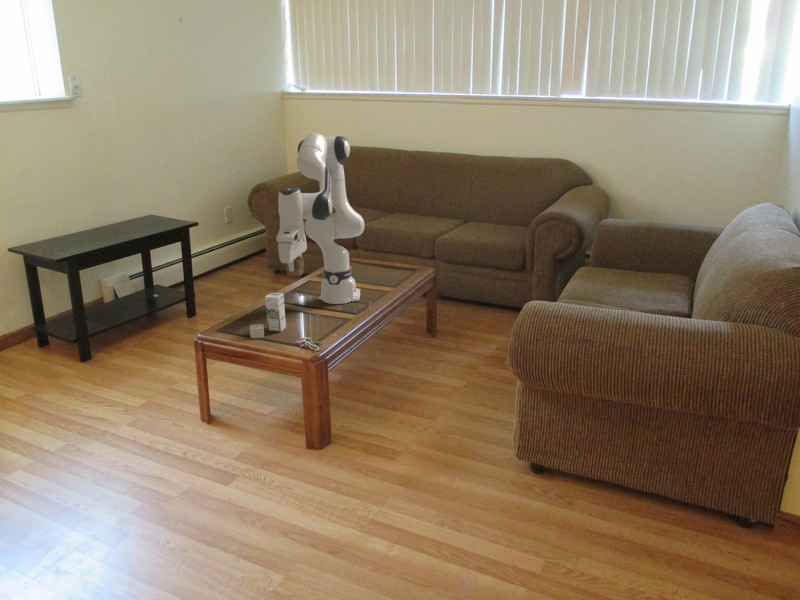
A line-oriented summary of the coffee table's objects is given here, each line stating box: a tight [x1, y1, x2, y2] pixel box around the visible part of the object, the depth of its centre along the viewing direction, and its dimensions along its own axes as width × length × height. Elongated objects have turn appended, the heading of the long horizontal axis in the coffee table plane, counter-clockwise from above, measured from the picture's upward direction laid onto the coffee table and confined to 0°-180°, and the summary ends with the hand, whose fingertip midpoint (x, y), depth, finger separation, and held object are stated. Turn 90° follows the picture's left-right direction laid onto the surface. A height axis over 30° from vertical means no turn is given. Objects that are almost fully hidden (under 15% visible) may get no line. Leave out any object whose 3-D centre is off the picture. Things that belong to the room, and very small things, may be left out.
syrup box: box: [264, 292, 287, 333], centre depth 270 cm, size 6×6×14 cm
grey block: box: [249, 323, 265, 339], centre depth 265 cm, size 5×5×4 cm
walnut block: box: [285, 256, 305, 277], centre depth 255 cm, size 5×5×6 cm
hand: (295, 268), depth 255 cm, fingers closed on walnut block, 5 cm apart
